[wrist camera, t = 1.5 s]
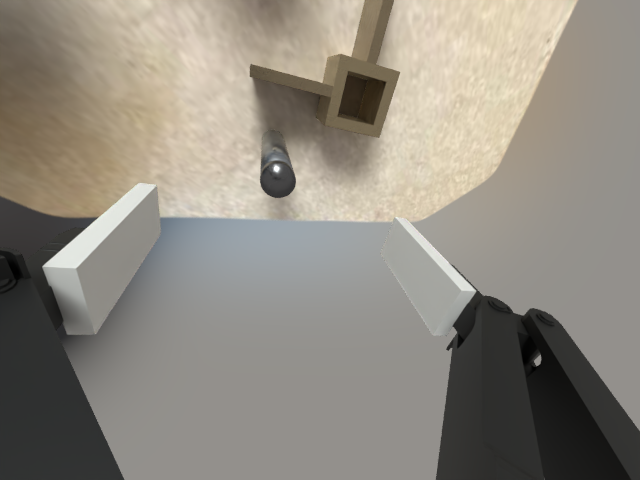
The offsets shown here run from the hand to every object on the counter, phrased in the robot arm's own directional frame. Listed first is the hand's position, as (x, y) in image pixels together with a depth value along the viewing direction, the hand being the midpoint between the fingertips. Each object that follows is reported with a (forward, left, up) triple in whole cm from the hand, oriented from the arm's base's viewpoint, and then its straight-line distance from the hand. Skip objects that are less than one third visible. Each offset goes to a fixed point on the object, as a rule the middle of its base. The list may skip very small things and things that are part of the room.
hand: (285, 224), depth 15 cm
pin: (0, 0, -22) cm, 22 cm away
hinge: (+4, +12, -22) cm, 26 cm away
